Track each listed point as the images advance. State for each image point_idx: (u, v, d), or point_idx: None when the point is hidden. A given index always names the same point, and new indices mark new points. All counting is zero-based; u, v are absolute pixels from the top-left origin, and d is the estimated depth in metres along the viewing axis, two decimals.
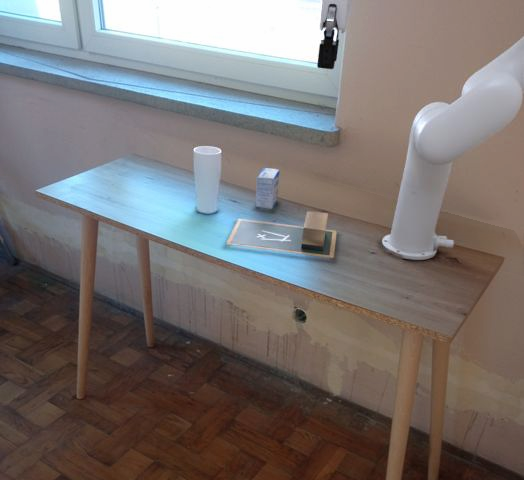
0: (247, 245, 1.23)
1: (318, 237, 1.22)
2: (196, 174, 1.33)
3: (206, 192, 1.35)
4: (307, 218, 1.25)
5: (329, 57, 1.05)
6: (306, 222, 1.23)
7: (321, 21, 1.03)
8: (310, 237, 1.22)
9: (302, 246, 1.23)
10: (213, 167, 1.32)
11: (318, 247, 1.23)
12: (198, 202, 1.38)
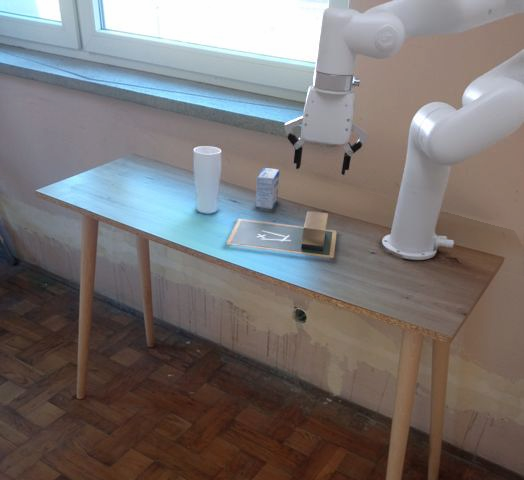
0: (247, 245, 1.23)
1: (318, 237, 1.22)
2: (196, 174, 1.33)
3: (206, 192, 1.35)
4: (307, 218, 1.25)
5: None
6: (306, 222, 1.23)
7: (349, 137, 1.12)
8: (310, 237, 1.22)
9: (302, 246, 1.23)
10: (213, 167, 1.32)
11: (318, 247, 1.23)
12: (198, 202, 1.38)
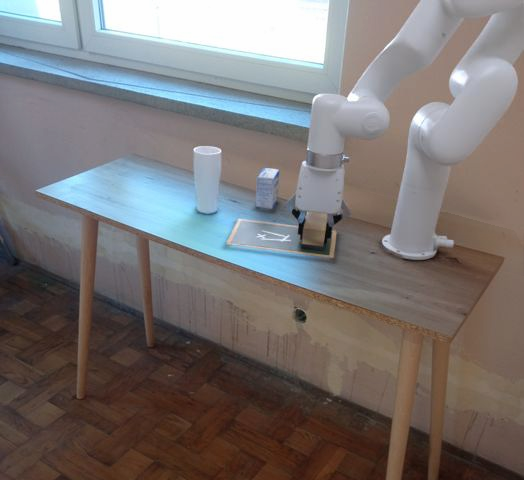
0: (247, 245, 1.23)
1: (318, 237, 1.22)
2: (196, 174, 1.33)
3: (206, 192, 1.35)
4: (307, 218, 1.25)
5: None
6: (306, 222, 1.23)
7: (340, 207, 1.20)
8: (310, 237, 1.22)
9: (302, 246, 1.23)
10: (213, 167, 1.32)
11: (318, 247, 1.23)
12: (198, 202, 1.38)
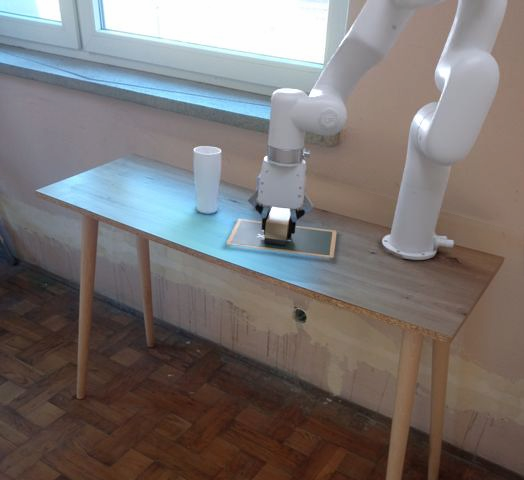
0: (247, 245, 1.23)
1: (281, 231, 1.22)
2: (196, 174, 1.33)
3: (206, 192, 1.35)
4: (271, 212, 1.26)
5: None
6: (269, 217, 1.24)
7: (302, 203, 1.21)
8: (273, 231, 1.22)
9: (265, 240, 1.24)
10: (213, 167, 1.32)
11: (281, 241, 1.24)
12: (198, 202, 1.38)
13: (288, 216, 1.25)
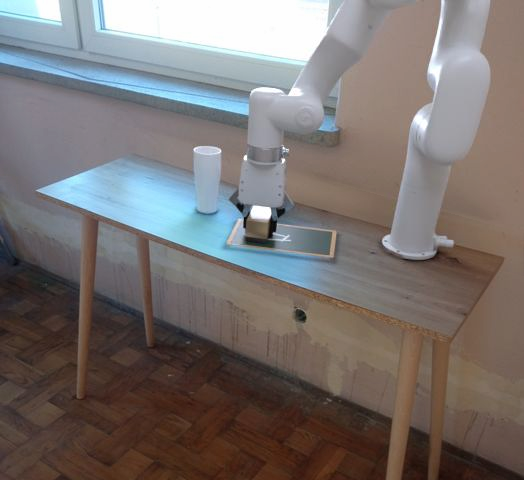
0: (247, 245, 1.23)
1: (261, 230, 1.23)
2: (196, 174, 1.33)
3: (206, 192, 1.35)
4: (252, 211, 1.26)
5: (276, 225, 1.28)
6: (250, 215, 1.24)
7: (282, 201, 1.22)
8: (253, 230, 1.23)
9: (246, 239, 1.25)
10: (213, 167, 1.32)
11: (262, 240, 1.24)
12: (198, 202, 1.38)
13: (269, 214, 1.25)
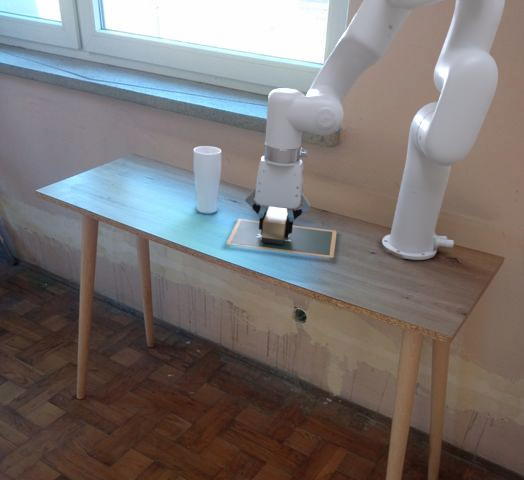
0: (247, 245, 1.23)
1: (278, 231, 1.22)
2: (196, 174, 1.33)
3: (206, 192, 1.35)
4: (268, 212, 1.26)
5: (292, 226, 1.27)
6: (266, 216, 1.24)
7: (299, 202, 1.21)
8: (270, 231, 1.23)
9: (262, 240, 1.24)
10: (213, 167, 1.32)
11: (278, 241, 1.24)
12: (198, 202, 1.38)
13: (285, 216, 1.25)
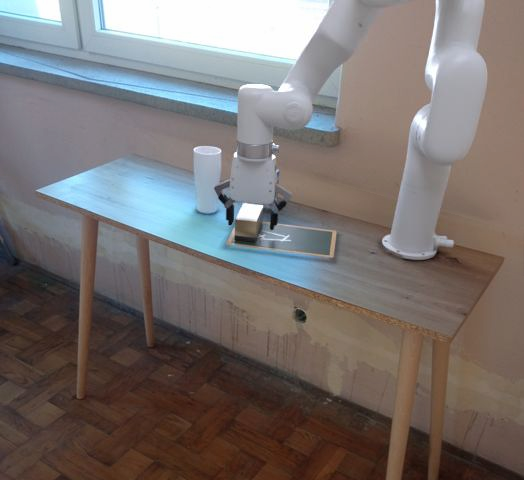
0: (247, 245, 1.23)
1: (250, 229, 1.23)
2: (196, 174, 1.33)
3: (206, 192, 1.35)
4: (241, 210, 1.27)
5: (277, 218, 1.27)
6: (238, 214, 1.24)
7: (273, 197, 1.22)
8: (242, 229, 1.23)
9: (235, 238, 1.25)
10: (213, 167, 1.32)
11: (251, 238, 1.24)
12: (198, 202, 1.38)
13: (258, 213, 1.26)
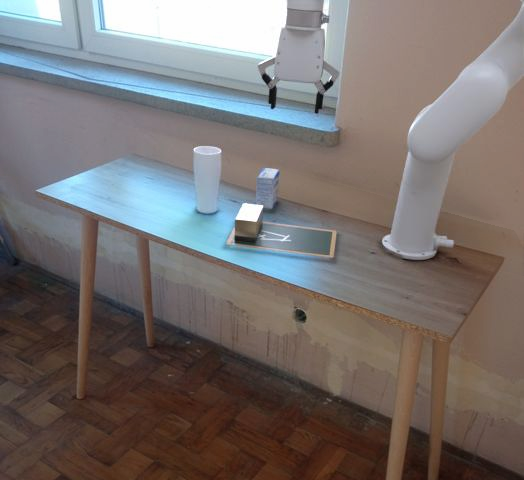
0: (247, 245, 1.23)
1: (250, 229, 1.23)
2: (196, 174, 1.33)
3: (206, 192, 1.35)
4: (241, 210, 1.27)
5: (322, 102, 1.21)
6: (238, 214, 1.24)
7: (320, 75, 1.16)
8: (242, 229, 1.23)
9: (235, 238, 1.25)
10: (213, 167, 1.32)
11: (251, 238, 1.24)
12: (198, 202, 1.38)
13: (258, 213, 1.26)
